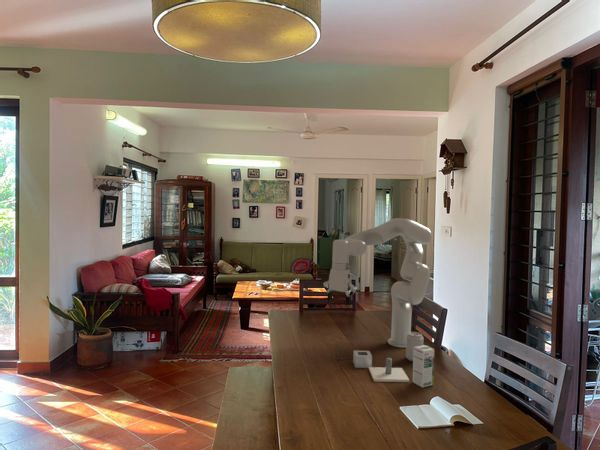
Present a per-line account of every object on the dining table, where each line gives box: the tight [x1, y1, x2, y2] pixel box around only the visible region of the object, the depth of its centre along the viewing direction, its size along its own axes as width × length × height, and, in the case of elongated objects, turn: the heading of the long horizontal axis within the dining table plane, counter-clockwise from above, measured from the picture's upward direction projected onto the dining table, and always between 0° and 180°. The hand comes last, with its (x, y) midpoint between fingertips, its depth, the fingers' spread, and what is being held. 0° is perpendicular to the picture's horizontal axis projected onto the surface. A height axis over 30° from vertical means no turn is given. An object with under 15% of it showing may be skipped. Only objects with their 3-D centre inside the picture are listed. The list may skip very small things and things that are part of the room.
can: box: [405, 331, 425, 362], centre depth 189 cm, size 8×8×12 cm
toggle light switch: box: [368, 357, 410, 383], centre depth 170 cm, size 14×12×7 cm
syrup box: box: [412, 344, 435, 388], centre depth 163 cm, size 6×6×14 cm
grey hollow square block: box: [352, 350, 373, 369], centre depth 181 cm, size 7×7×5 cm
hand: (338, 303), depth 193 cm, fingers open, 9 cm apart
